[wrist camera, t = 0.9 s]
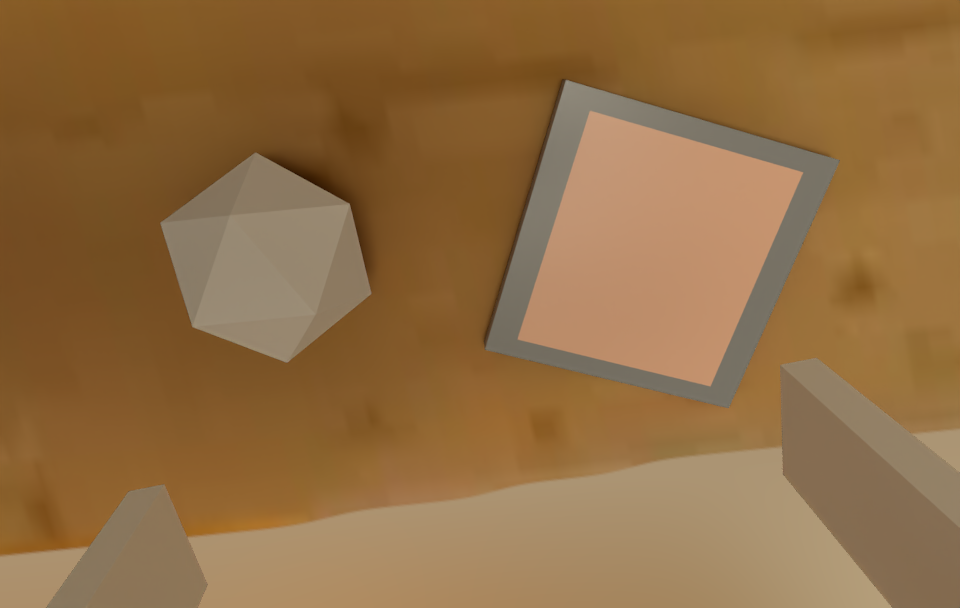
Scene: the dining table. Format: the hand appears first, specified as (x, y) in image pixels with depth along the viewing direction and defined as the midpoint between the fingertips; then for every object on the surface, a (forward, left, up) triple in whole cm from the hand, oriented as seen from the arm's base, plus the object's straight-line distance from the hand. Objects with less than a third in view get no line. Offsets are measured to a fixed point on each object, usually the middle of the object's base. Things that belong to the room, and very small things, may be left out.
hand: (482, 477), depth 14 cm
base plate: (+9, +1, -21) cm, 23 cm away
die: (-9, -3, -21) cm, 23 cm away
